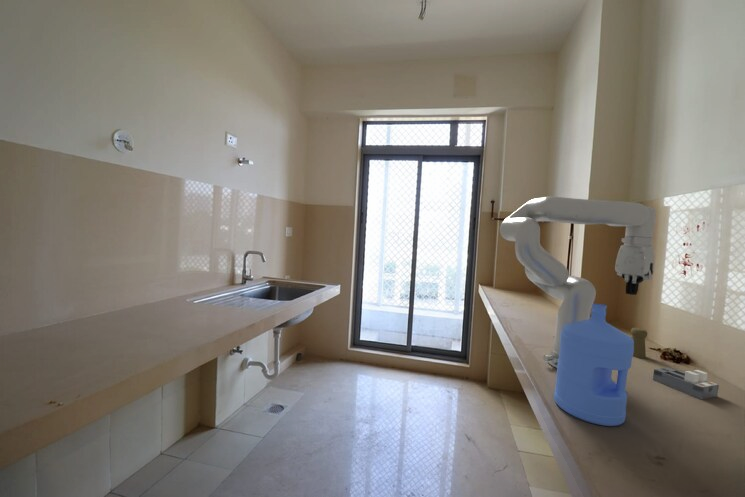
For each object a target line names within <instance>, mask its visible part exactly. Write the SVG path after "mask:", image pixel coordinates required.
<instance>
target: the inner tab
mask: <svg viewBox="0 0 745 497" xmlns="http://www.w3.org/2000/svg"><path fill="white" fill-rule="evenodd" d="M684 373H685V378H684V380H685V381H687V382H690V383H693V384H697V383H698V380H699V374H696V373H694V371H690V370H687V371H685V372H684Z"/></svg>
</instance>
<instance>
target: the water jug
mask: <svg viewBox="0 0 745 497" xmlns="http://www.w3.org/2000/svg"><path fill="white" fill-rule="evenodd" d="M607 308H608V306H607V305H606V304H601V303H593V304H592V308H591V312H590V315H591V316H590V318H589V319H588V320H583V321H578V322H573V323H568V324H565V325H563V327H562V331H561V336H560V341H561V342H560V351H559V360H558V364H557V368H556V371H557V372H556V379H555V389H554V393H553V399H554V401H555V403H556V405H558V406H559V408H560V409H562V410H563V411H564V412H566V413H567V414H569V415H570V416H572V417H575V418H577V419H580V420H581V421H584V422H587V423H591V424H594V425H599V426H604V427H605V426H606V427H615V426H620V425H622V424H623V423H625V421H626V416H627V402H628V393H627V392H628V391H626V389H627V388H626V386H627V380H628V379H627V378H628V371H629V370H630V369H631V368H632V363H633V362H632V361H633V353H634V340H633V339H632V338H631V337H632V336H630V335H629V334H626V333H625V332H623V331H621V330H620V329H618V328H617V327H615V326H613V325H612V324H610V323H608V322H607V321H606V316H607ZM613 371H617V379H616V382H614V380H613V379H612V374H613Z"/></svg>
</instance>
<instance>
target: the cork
mask: <svg viewBox="0 0 745 497" xmlns="http://www.w3.org/2000/svg"><path fill="white" fill-rule="evenodd" d="M630 334H631V336H630V337H631V338H632V339H633V340H634V353H633V357H634V358H638V359H646V358H647V354H646V338H647V337H648V331H647V330H646V329H643V328H640V327H632V328H631V330H630ZM633 357H632V358H633Z"/></svg>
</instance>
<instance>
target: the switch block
mask: <svg viewBox="0 0 745 497" xmlns="http://www.w3.org/2000/svg"><path fill="white" fill-rule="evenodd" d="M684 378H685V372H683V371H680V370H677V369H676V368H672V367H664V368H662V367H661V368H655V369H653V376H652V380H654V381H655V382H657V383H660V384H662V385H666V386H668V387H670V388H673V389H675V390H678V391H680V392H682V393H685V394H686V395H687V394H688V395H689V396H692V397H695V398H697V399H700V400H704V399H711V398H716V397H718V393H719V386H720V385H719V384H717V383H715V382H712V381H708V380H707V382H704V383H702V382H700V381H698V383H697V384H693V383H690V382H687V381H685V380H684Z"/></svg>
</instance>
